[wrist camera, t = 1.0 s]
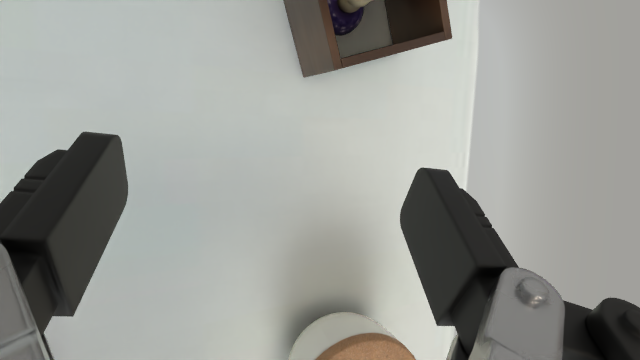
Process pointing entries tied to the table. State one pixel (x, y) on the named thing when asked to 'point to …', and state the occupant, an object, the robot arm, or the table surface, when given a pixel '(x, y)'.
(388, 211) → the table surface
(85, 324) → the table surface
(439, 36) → the open wooden box
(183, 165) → the table surface
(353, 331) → the trinket box
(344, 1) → the toy lamp
